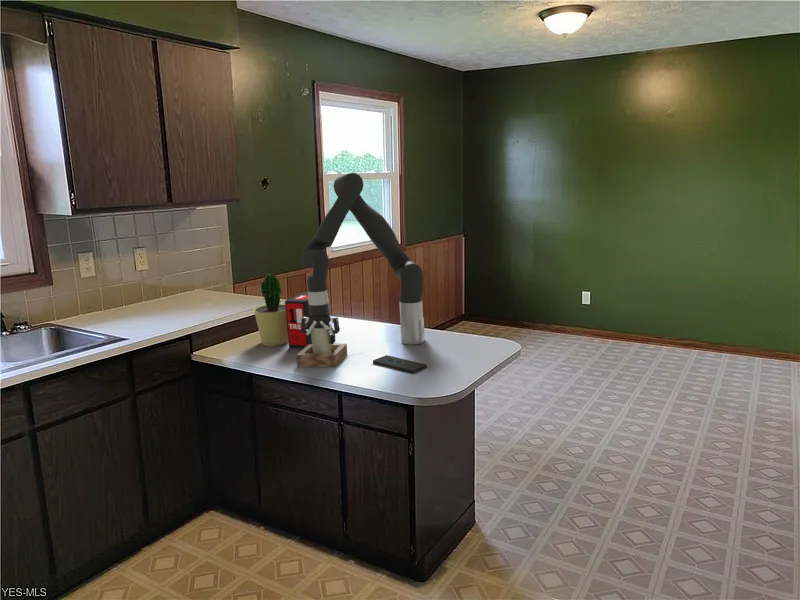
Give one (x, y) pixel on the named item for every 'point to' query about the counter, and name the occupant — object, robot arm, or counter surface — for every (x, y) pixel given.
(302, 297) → the cleaning product box
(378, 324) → the counter surface
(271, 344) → the potted cactus
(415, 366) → the smart home device
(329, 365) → the block
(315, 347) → the skincare box
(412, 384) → the counter surface
